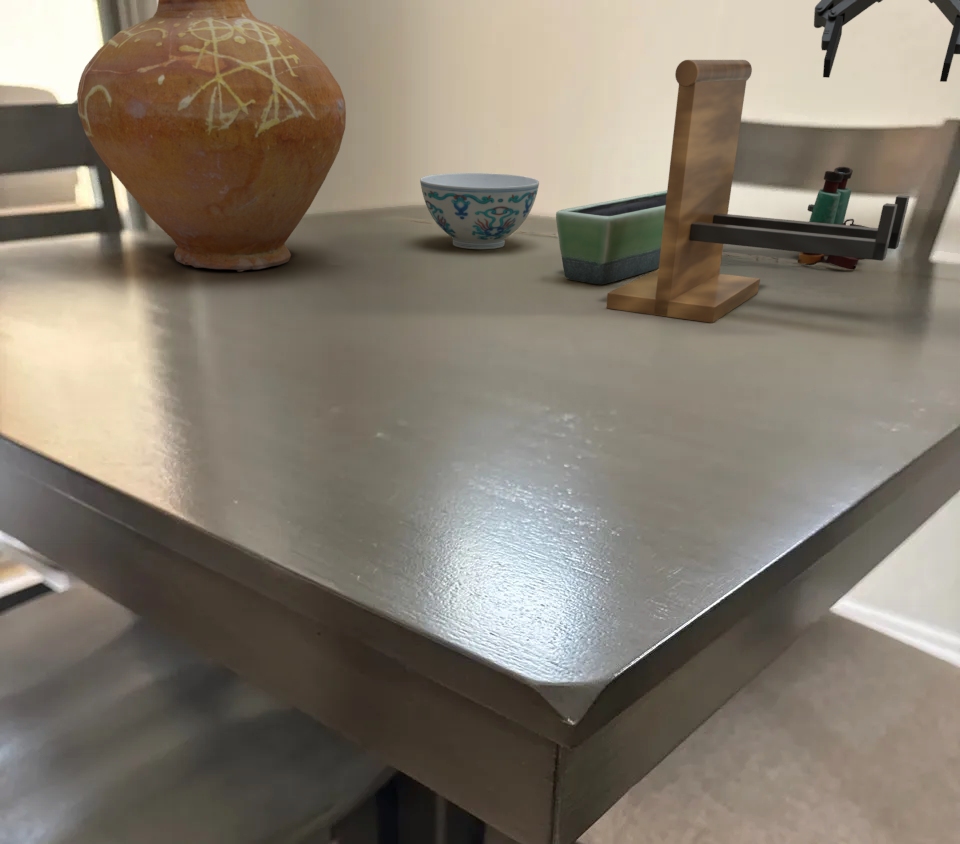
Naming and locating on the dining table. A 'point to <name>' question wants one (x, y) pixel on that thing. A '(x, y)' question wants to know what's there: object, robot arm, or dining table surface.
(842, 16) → the robot arm
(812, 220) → the binoculars
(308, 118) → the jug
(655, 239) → the planter
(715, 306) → the hook rack
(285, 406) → the dining table surface
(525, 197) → the chinaware
